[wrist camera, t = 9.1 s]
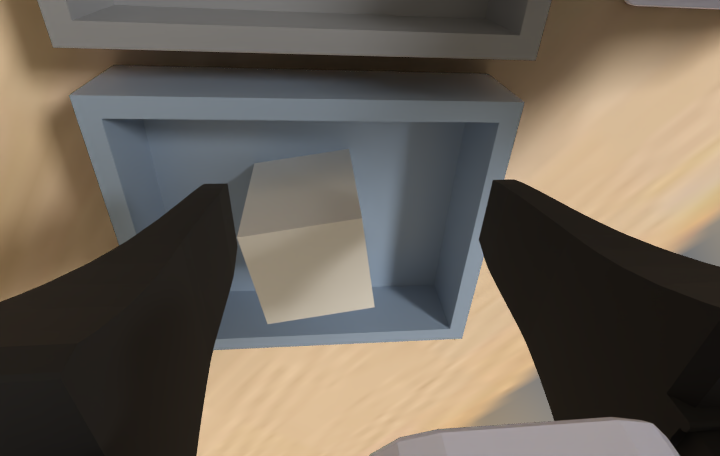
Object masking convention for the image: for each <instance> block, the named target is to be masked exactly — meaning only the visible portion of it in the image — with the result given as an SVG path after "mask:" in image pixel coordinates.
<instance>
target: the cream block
mask: <svg viewBox="0 0 720 456" xmlns="http://www.w3.org/2000/svg"><path fill="white" fill-rule="evenodd" d="M237 239H238V242H239V245H240V248H241V251H242V253H243V256H244V259H245V262H246V265H247V267H248V270H249V273H250V276H251V279H252V282H253V284H254V287H255V290H256V293H257V296H258V298H259V301H260V304H261V307H262V310H263V313H264V315H265V318H266V321H267V324H272V323H279V322H285V321H291V320H298V319H304V318H310V317H316V316H323V315H329V314H335V313H342V312H348V311H354V310H361V309H367V308H373V307H375V306H374V299H373V292H372V285H371V278H370V271H369V263H368V256H367V249H366V242H365V235H364V228H363V221H362V215H361V210H360V204H359V199H358V194H357V189H356V183H355V178H354V173H353V167H352V162H351V157H350V152H349V149H345V150H338V151H332V152H325V153H319V154H312V155H306V156H299V157H293V158H286V159H280V160H273V161H267V162H260V163H254V167H253V171H252V176H251V180H250V184H249V188H248V193H247V197H246V201H245V205H244V210H243V214H242V218H241V222H240V227H239V231H238V235H237Z"/></svg>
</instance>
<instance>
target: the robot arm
mask: <svg viewBox="0 0 720 456" xmlns="http://www.w3.org/2000/svg"><path fill="white" fill-rule="evenodd" d="M624 1H625V2H626V3H627V4H629V5H633V6H649V7H672V8H696V9H719V10H720V0H624ZM479 242H480V245H481V249H482V252H483V255H484V258H485V261H486V264H487V266H488V269H489V271H490V273H491V275H492V277H493V279H494V281H495V283H496V285H497V287H498V289H499V291H500V293H501V295H502V296H503V298H504V300H505V302H506V304H507V306H508V308H509V310H510V312H511V314H512V316H513V317H514V319H515V321H516V323H517V325H518V327H519V329H520V331H521V333H522V335H523V337H524V339H525V341H526V344H527V346H528V348H529V351H530V354H531V356H532V359H533V361H534V364H535V367H536V369H537V372H538V374H539V377H540V379H541V383H542V386H543V388H544V391H545V394H546V397H547V400H548V403H549V406H550V409H551V412H552V415H553V418H554V421H548V422H534V423H522V424H521V423H520V424H507V425H492V426H477V427H463V428H449V429H437V430H432V431H427V432H423V433H418V434H413V435H409V436H404V437H400V438H398V439H396V440H394V441H392V442H391V443H389V444H387V445H386V446H384V447H382V448H380V449H379V450H377V451H375V452H373V453H372V454H370V455H369V456H720V267H719V266H715V265H711V264H708V263H704V262H701V261H698V260H694V259H692V258H688V257H686V256H682V255H679V254H676V253H673V252H670V251H667V250H665V249H662V248H659V247H656V246H654V245H651V244H648V243H646V242H643V241H641V240H638V239H636V238H633V237H631V236H628V235H626V234H624V233H621V232H619V231H617V230H614V229H612V228H610V227H608V226H606V225H604V224H602V223H600V222H598V221H595V220H593V219H591V218H589V217H587V216H585V215H583V214H581V213H579V212H578V211H576V210H574V209H572V208H570V207H568V206H566V205H564V204H562V203H561V202H559V201H557V200H555V199H553V198H551V197H549V196H548V195H546V194H544V193H542V192H540V191H538V190H536V189H534V188H532V187H530V186H528V185H526V184H524V183H522V182H519V181H517V180H493V181H492V186H491V190H490V194H489V198H488V202H487V207H486V211H485V215H484V219H483V224H482V228H481V232H480V236H479ZM237 247H238V246H237V239H236V233H235V227H234V221H233V214H232V208H231V202H230V195H229V189H228V183H226V184H203V185H201V186H200V187H198V188H197V189H196V190H194V191H193V192H192V193H191V194H189V195H188V196H187V197H186V198H184V199H183V200H182V201H181V202H179V203H178V204H177V205H176V206H174V207H173V208H172V209H170V210H169V211H168V212H167V213H165V214H164V215H163V216H162V217H160V218H159V219H158V220H156V221H155V222H153V223H152V224H150V225H149V226H148V227H146V228H145V229H143V230H142V231H140V232H139V233H138V234H136V235H135V236H133V237H132V238H131V239H129V240H127V241H126V242H124V243H123V244H121V245H120V246H118V247H116V248H115V249H113V250H111V251H110V252H108V253H106V254H104V255H102V256H101V257H99V258H97V259H95V260H94V261H92V262H90V263H88V264H86V265H84V266H82V267H80V268H78V269H76V270H74V271H71V272H69V273H67V274H65V275H63V276H61V277H59V278H57V279H55V280H53V281H50V282H48V283H46V284H44V285H42V286H39V287H37V288H35V289H32V290H30V291H27V292H25V293H22V294H20V295H17V296H15V297H12V298H10V299H7V300H4V301H2V302H0V456H196V454H197V447H198V439H199V431H200V425H201V418H202V411H203V404H204V398H205V391H206V385H207V379H208V373H209V367H210V361H211V357H212V353H213V349H214V345H215V341H216V338H217V334H218V331H219V327H220V324H221V320H222V317H223V313H224V310H225V306H226V303H227V299H228V296H229V292H230V288H231V285H232V281H233V277H234V270H235V263H236V255H237Z"/></svg>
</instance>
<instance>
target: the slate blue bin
mask: <svg viewBox="0 0 720 456" xmlns="http://www.w3.org/2000/svg"><path fill="white" fill-rule="evenodd" d="M69 97H70V100H71V103H72V106H73V109H74V112H75V115H76V118H77V121H78V124H79V127H80V130H81V133H82V136H83V139H84V142H85V145H86V148H87V151H88V154H89V157H90V160H91V163H92V166H93V169H94V172H95V175H96V178H97V181H98V184H99V187H100V189H101V192H102V195H103V198H104V201H105V204H106V207H107V210H108V213H109V216H110V219H111V222H112V225H113V228H114V231H115V234H116V237H117V240H118V243H119V246H120V245H121V244H123V243H124V242H126V241H127V240H129V239H131V238H132V237H133V236H135V235H136V234H138V233H139V232H140V231H142V230H143V229H145V228H146V227H148V226H149V225H150V224H152V223H153V222H155V221H156V220H158V219H159V218H160V217H162V216H163V215H164V214H165V213H167V212H168V211H169V210H170V209H172V208H173V207H174V206H176V205H177V204H178V203H179V202H181V201H182V200H183V199H184V198H186V197H187V196H188V195H189V194H191V193H192V192H193V191H194V190H196V189H197V188H198V187H200V186H201V185H203V184H226V183H228V189H229V195H230V202H231V208H232V214H233V221H234V227H235V233H236V239H237V235H238V231H239V227H240V222H241V218H242V214H243V210H244V205H245V201H246V197H247V193H248V188H249V184H250V180H251V176H252V171H253V167H254V163H260V162H267V161H273V160H280V159H286V158H293V157H299V156H306V155H312V154H319V153H325V152H332V151H338V150H345V149H349V152H350V157H351V162H352V167H353V173H354V178H355V183H356V189H357V194H358V199H359V204H360V210H361V215H362V221H363V228H364V235H365V242H366V249H367V256H368V263H369V271H370V278H371V285H372V292H373V299H374V306H375V307H373V308H367V309H361V310H354V311H348V312H342V313H335V314H329V315H323V316H316V317H310V318H304V319H298V320H291V321H285V322H279V323H272V324H267V321H266V318H265V315H264V313H263V310H262V307H261V304H260V301H259V298H258V296H257V293H256V290H255V287H254V284H253V282H252V279H251V276H250V273H249V270H248V267H247V265H246V262H245V259H244V256H243V253H242V251H241V248H240V245H239V242H238V239H237V246H238V247H237V255H236V263H235V270H234V277H233V281H232V285H231V288H230V292H229V296H228V299H227V303H226V306H225V310H224V313H223V317H222V320H221V324H220V327H219V331H218V334H217V338H216V341H215V345H214V349H213V350H225V349H246V348H268V347H290V346H311V345H333V344H354V343H376V342H398V341H419V340H441V339H462V336H463V333H464V329H465V325H466V321H467V317H468V314H469V310H470V306H471V302H472V299H473V295H474V291H475V287H476V284H477V280H478V276H479V272H480V268H481V265H482V261H483V257H484V255H483V252H482V249H481V245H480V242H479V236H480V232H481V228H482V224H483V219H484V215H485V211H486V207H487V202H488V198H489V194H490V190H491V186H492V181H493V180H504V178H505V174H506V170H507V167H508V163H509V159H510V155H511V152H512V148H513V144H514V140H515V136H516V133H517V129H518V125H519V121H520V118H521V114H522V110H523V106H524V101H522V100H521V99H520V98H518V97H517V96H516V95H515V94H513V93H512V92H511V91H509V90H508V89H507V88H506V87H504V86H503V85H502V84H500V83H499V82H498V81H497V80H495V79H494V78H493V77H491V76H490V75H489V74H478V73H434V72H391V71H347V70H304V69H260V68H216V67H173V66H129V65H113V66H112V67H110V68H109V69H107V70H106V71H104V72H103V73H101V74H100V75H98V76H97V77H95V78H94V79H92V80H91V81H89V82H88V83H86V84H85V85H83V86H82V87H80V88H79V89H77V90H76V91H74V92H73V93H71V94H70V95H69Z"/></svg>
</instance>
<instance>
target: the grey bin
mask: <svg viewBox="0 0 720 456" xmlns="http://www.w3.org/2000/svg"><path fill="white" fill-rule="evenodd" d="M37 1H38V4H39V7H40V10H41V13H42V16H43V19H44V22H45V25H46V28H47V31H48V34H49V37H50V40H51V43H52V46H53V48H90V49H127V50H165V51H202V52H240V53H277V54H314V55H352V56H389V57H426V58H464V59H501V60H536V57H537V53H538V50H539V46H540V42H541V38H542V35H543V31H544V27H545V23H546V20H547V16H548V12H549V8H550V4H551V1H552V0H37Z"/></svg>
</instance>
